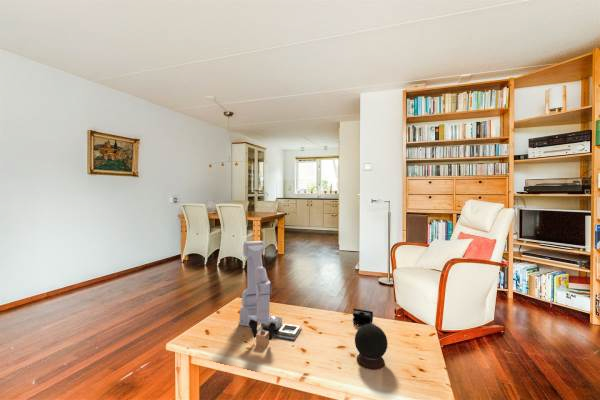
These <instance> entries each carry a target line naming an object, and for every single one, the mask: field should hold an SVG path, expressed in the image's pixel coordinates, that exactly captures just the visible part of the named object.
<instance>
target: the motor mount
mask: <svg viewBox="0 0 600 400" xmlns="http://www.w3.org/2000/svg"><path fill="white" fill-rule="evenodd" d="M269 317H272V318H275V319H279V324H278V325H276V327H275V329H274V332H273V336H272V338H276V339H282V340H286V341H292V342H295V341H296V339H297V338H298V335H299V334H300V333H301V331H302V328H303V327H301V326H300V325H294V324H288V323H283V318H282V317H279V316H273V315H269ZM269 325H270V323H260V327H259V328H257V333H258V332H259V331H260V330H265V331H269V329H268V326H269Z"/></svg>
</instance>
